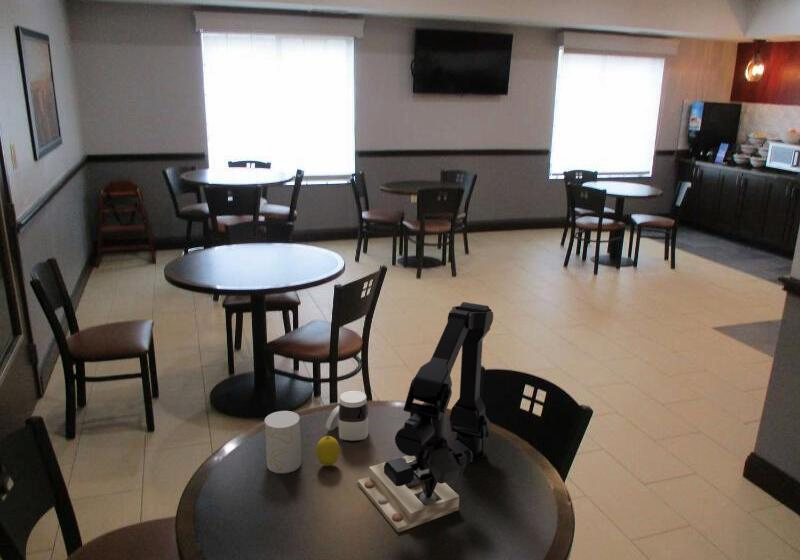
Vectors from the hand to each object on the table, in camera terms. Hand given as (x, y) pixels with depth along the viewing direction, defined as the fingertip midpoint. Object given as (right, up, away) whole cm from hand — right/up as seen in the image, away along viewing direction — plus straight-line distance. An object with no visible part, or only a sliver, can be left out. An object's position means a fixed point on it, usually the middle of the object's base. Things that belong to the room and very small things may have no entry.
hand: (428, 496), depth 131 cm
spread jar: (-20, +5, +31) cm, 37 cm away
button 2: (0, -2, +1) cm, 2 cm away
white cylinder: (-34, +2, +18) cm, 38 cm away
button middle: (-3, +1, +6) cm, 7 cm away
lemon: (-23, +1, +17) cm, 29 cm away
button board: (-4, -2, +6) cm, 8 cm away
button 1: (-6, +3, +11) cm, 13 cm away
